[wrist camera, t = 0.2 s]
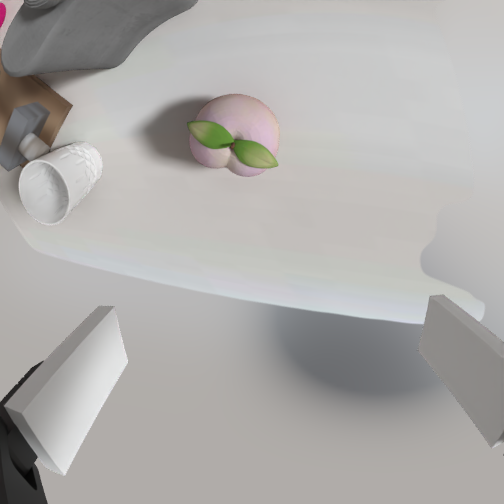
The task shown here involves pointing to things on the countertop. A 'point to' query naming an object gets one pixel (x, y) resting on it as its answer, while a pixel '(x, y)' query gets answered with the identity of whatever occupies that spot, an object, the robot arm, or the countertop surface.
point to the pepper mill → (2, 13)
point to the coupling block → (28, 118)
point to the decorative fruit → (235, 135)
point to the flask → (80, 33)
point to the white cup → (59, 181)
